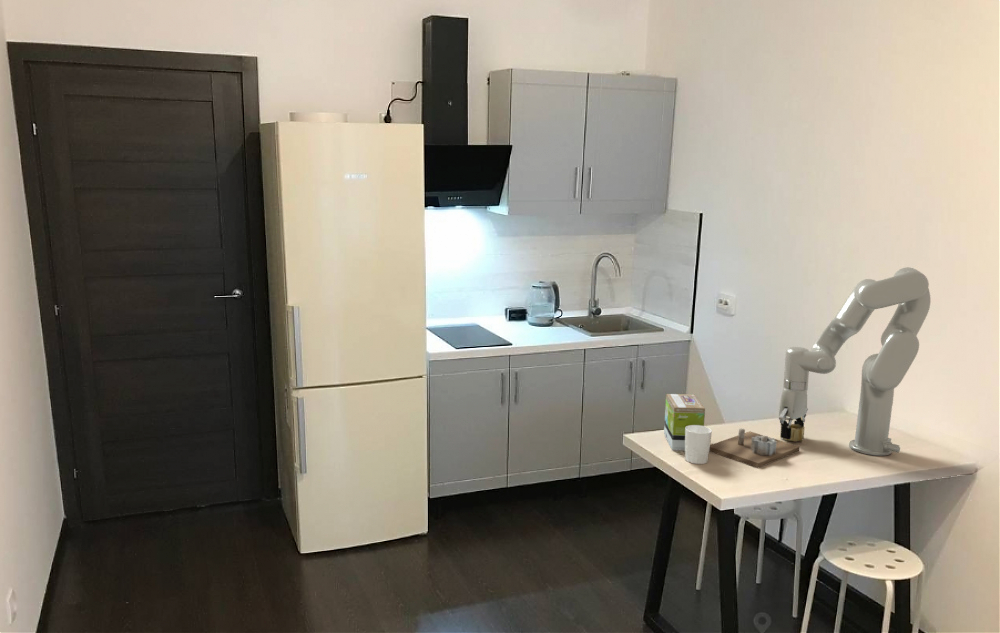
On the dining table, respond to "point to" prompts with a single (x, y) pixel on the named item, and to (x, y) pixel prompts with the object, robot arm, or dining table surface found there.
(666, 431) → the tea box
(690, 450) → the white cup
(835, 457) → the dining table surface
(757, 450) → the grey gear
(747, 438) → the gear board
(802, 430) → the brass gear
